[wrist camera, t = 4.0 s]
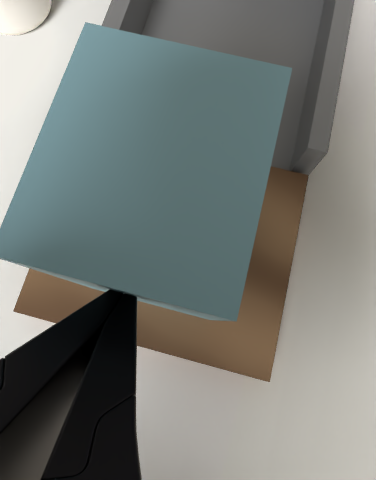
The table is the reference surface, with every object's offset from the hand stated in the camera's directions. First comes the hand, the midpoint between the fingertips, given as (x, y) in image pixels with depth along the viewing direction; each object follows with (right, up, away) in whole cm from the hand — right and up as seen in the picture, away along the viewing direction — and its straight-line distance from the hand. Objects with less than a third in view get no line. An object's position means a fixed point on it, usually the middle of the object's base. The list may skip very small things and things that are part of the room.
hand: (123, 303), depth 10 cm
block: (+1, +2, +8) cm, 8 cm away
